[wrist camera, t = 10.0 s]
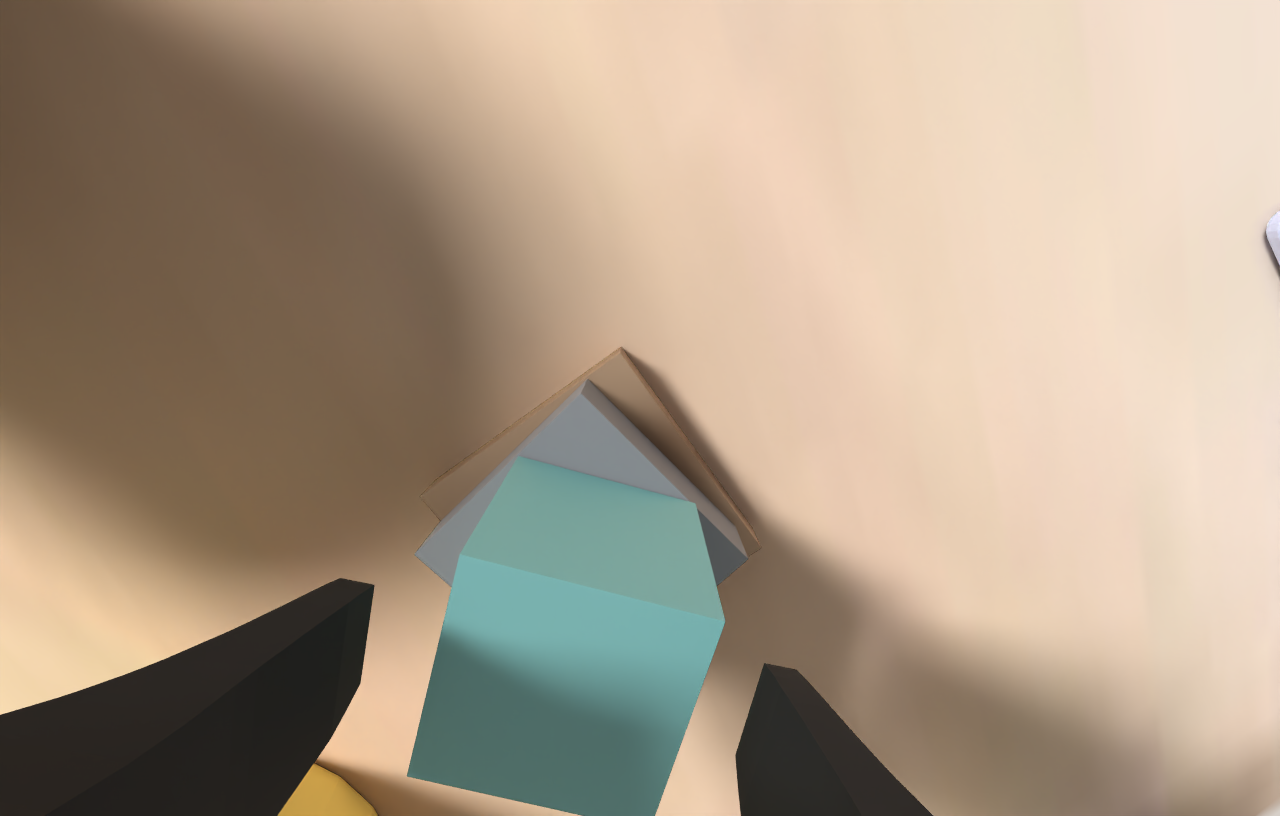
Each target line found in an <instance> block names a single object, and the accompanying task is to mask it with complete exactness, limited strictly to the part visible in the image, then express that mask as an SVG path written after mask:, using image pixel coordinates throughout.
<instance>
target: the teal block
mask: <svg viewBox="0 0 1280 816" xmlns="http://www.w3.org/2000/svg"><path fill="white" fill-rule="evenodd" d="M724 624H725V618H724V614H723V610H722V606H721V602H720V598H719V594H718V590H717V586H716V582H715V578H714V574H713V570H712V566H711V563H710V559H709V555H708V551H707V547H706V543H705V539H704V535H703V531H702V527H701V523H700V519H699V515H698V511H697V507H696V503H692V502H689V501H685V500H681V499H678V498H674V497H670V496H666V495H663V494H659V493H655V492H651V491H648V490H644V489H640V488H636V487H633V486H629V485H625V484H622V483H618V482H614V481H610V480H607V479H603V478H599V477H595V476H592V475H588V474H584V473H580V472H577V471H573V470H569V469H565V468H562V467H558V466H554V465H551V464H547V463H543V462H539V461H536V460H532V459H528V458H524V457H521V456H518V457H517V459H516V461H515V462H514V464H513V466H512V467H511V469H510V471H509V472H508V474H507V476H506V477H505V479H504V481H503V482H502V484H501V486H500V487H499V489H498V491H497V492H496V494H495V496H494V498H493V499H492V501H491V503H490V504H489V506H488V508H487V509H486V511H485V513H484V514H483V516H482V518H481V519H480V521H479V523H478V524H477V526H476V528H475V529H474V531H473V533H472V534H471V536H470V538H469V539H468V541H467V543H466V544H465V546H464V548H463V549H462V551H461V553H460V555H459V559H458V563H457V568H456V572H455V576H454V580H453V584H452V589H451V593H450V597H449V601H448V605H447V610H446V614H445V618H444V622H443V626H442V631H441V635H440V639H439V643H438V647H437V652H436V656H435V660H434V664H433V668H432V673H431V677H430V681H429V685H428V689H427V694H426V698H425V702H424V706H423V710H422V715H421V719H420V723H419V727H418V731H417V736H416V740H415V744H414V748H413V753H412V757H411V761H410V765H409V769H408V774H407V777H412V778H416V779H421V780H425V781H430V782H434V783H439V784H443V785H448V786H452V787H457V788H461V789H466V790H470V791H475V792H479V793H484V794H488V795H493V796H497V797H502V798H506V799H511V800H515V801H520V802H524V803H528V804H533V805H537V806H542V807H546V808H551V809H555V810H560V811H564V812H569V813H573V814H578V815H582V816H655V814H656V811H657V809H658V806H659V803H660V800H661V798H662V795H663V792H664V789H665V787H666V784H667V781H668V778H669V776H670V773H671V770H672V767H673V764H674V762H675V759H676V756H677V753H678V751H679V748H680V745H681V742H682V740H683V737H684V734H685V731H686V729H687V726H688V723H689V720H690V718H691V715H692V712H693V709H694V707H695V704H696V701H697V698H698V696H699V693H700V690H701V687H702V685H703V682H704V679H705V676H706V674H707V671H708V668H709V665H710V663H711V660H712V657H713V654H714V652H715V649H716V646H717V643H718V641H719V638H720V635H721V632H722V630H723V627H724Z"/></svg>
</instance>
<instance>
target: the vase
mask: <svg viewBox="0 0 1280 816" xmlns="http://www.w3.org/2000/svg"><path fill="white" fill-rule="evenodd" d="M278 816H378V815H377V813H376V812H375V810H374V808H373V806H372V805H371V804H369V803H368V802H367V801H366V800H365V799H364V798H363V797H362V796H361V795H360V794H358V793H357V792H356V791H355V790H354V789H353V788H352V787H351V786H350V785H349V784H348V783H346V782H345V781H344V780H343V779H342V778H341V777H340V776H338V775H336V774H334V773H332V772H330V771H328V770H326V769H324V768H322V767H320V766H318V765H316V764H313V765H312V767H311V768H310V770H309V771H308V773H307V774H306V775H305V777H304V778H303V780H302V781H301V783H300V784H299V786H298V787H297V788H296V790H295V791H294V793H293V794H292V796H291V797H290V798H289V800H288V801H287V803H286V804H285V806H284V807H283V809H282V810H281V811H280V813H279V814H278Z"/></svg>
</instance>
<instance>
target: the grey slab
mask: <svg viewBox="0 0 1280 816" xmlns="http://www.w3.org/2000/svg"><path fill="white" fill-rule="evenodd" d="M518 456H521V457H524V458H528V459H532V460H536V461H539V462H543V463H547V464H551V465H554V466H558V467H562V468H565V469H569V470H573V471H577V472H580V473H584V474H588V475H592V476H595V477H599V478H603V479H607V480H610V481H614V482H618V483H622V484H625V485H629V486H633V487H636V488H640V489H644V490H648V491H651V492H655V493H659V494H663V495H666V496H670V497H674V498H678V499H681V500H685V501H689V502H692V503H696V507H697V511H698V515H699V519H700V523H701V527H702V531H703V535H704V539H705V543H706V547H707V551H708V555H709V559H710V563H711V566H712V570H713V574H714V578H715V582H716V586H718V585H719V584H720V583H721V582H722V581H723V580H725V579H726V578H727V577H728V576H729V575H730V574H732V573H733V572H734V571H735V570H736V569H737V568H739V567H740V566H741V565H742V564H743V563H744V562H746V561H747V560H748V557H747V554H746V552H745V549H744V547H743V544H742V541H741V539H740V536H739V534H738V531H737V529H736V526H735V525H734V524H733V523H732V522H731V521H730V520H729V519H728V518H727V517H726V516H725V515H724V514H723V513H722V512H721V511H720V510H719V509H718V508H717V507H716V506H715V505H714V504H713V503H712V502H711V501H710V500H709V499H708V498H707V497H706V496H705V495H704V494H703V493H702V492H701V491H700V490H699V489H698V488H697V487H696V486H695V485H694V484H693V483H692V482H691V481H690V480H689V479H688V478H687V477H686V476H685V475H684V474H683V473H682V472H681V471H680V470H679V469H678V468H677V467H676V466H675V465H674V464H673V463H672V462H671V461H670V460H669V459H668V458H667V457H666V456H665V455H664V454H663V453H662V452H661V451H660V450H659V449H658V448H657V447H656V446H655V445H654V444H653V443H652V442H651V441H650V440H649V439H648V438H647V437H646V436H645V435H644V434H643V433H642V432H641V431H640V430H639V429H638V428H637V427H636V426H635V425H634V424H633V423H632V422H631V421H630V420H629V419H628V418H627V417H626V416H625V415H624V414H623V413H622V412H621V411H620V410H619V409H618V408H617V407H616V406H615V405H614V404H613V403H612V402H611V401H610V400H609V399H608V398H607V397H606V396H605V395H604V394H603V393H602V392H601V391H600V390H599V389H598V388H597V387H596V386H595V385H594V384H593V383H592V382H591V381H590V380H589V379H587V380H586V381H585V382H583V383H582V384H581V385H580V386H579V387H578V388H577V389H576V390H575V391H574V392H573V393H572V394H571V395H570V396H569V397H568V398H567V399H566V400H565V401H564V402H563V403H562V404H561V405H560V406H559V407H558V408H557V409H556V410H555V411H554V412H553V413H552V414H551V415H549V416H548V417H547V418H546V419H545V420H544V421H543V422H542V423H541V424H540V425H539V426H538V427H537V428H536V429H535V430H534V431H533V432H532V433H531V434H530V435H529V436H528V437H527V438H526V439H525V440H524V441H523V442H522V443H521V444H520V445H519V446H518V447H517V448H515V449H514V450H513V451H512V452H511V453H510V454H509V455H508V456H507V457H506V458H505V459H504V460H503V461H502V462H501V463H500V464H499V465H498V466H497V467H496V468H495V469H494V470H493V471H492V472H491V473H490V474H489V475H488V476H487V477H486V478H485V479H484V480H483V481H482V482H480V483H479V484H478V485H477V486H476V487H475V488H474V489H473V490H472V491H471V492H470V493H469V494H468V495H467V496H466V497H465V498H464V499H463V500H462V501H461V502H460V503H459V504H458V505H457V506H456V507H455V508H454V509H453V510H452V511H451V512H450V513H449V514H448V515H446V516H445V517H444V518H443V519H442V520H441V521H440V522H439V524H438V525H437V526H436V527H435V529H434V530H433V531H432V532H431V534H430V535H429V536H428V538H427V539H426V540H425V541H424V543H423V544H422V545H421V546H420V548H419V549H418V550H417V552H416V553H415V554H414V555H415V556H416V557H417V558H419V559H420V560H421V561H422V562H423V563H424V564H425V565H427V566H428V567H429V568H430V569H431V570H432V571H433V572H435V573H436V574H437V575H438V576H439V577H440V578H441V579H443V580H444V581H445V582H446V583H447V584H448V585H449V586H451V587H452V584H453V580H454V576H455V572H456V568H457V563H458V559H459V555H460V553H461V551H462V549H463V548H464V546H465V544H466V543H467V541H468V539H469V538H470V536H471V534H472V533H473V531H474V529H475V528H476V526H477V524H478V523H479V521H480V519H481V518H482V516H483V514H484V513H485V511H486V509H487V508H488V506H489V504H490V503H491V501H492V499H493V498H494V496H495V494H496V492H497V491H498V489H499V487H500V486H501V484H502V482H503V481H504V479H505V477H506V476H507V474H508V472H509V471H510V469H511V467H512V466H513V464H514V462H515V461H516V459H517V457H518Z"/></svg>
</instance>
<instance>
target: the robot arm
mask: <svg viewBox="0 0 1280 816" xmlns="http://www.w3.org/2000/svg"><path fill="white" fill-rule="evenodd" d="M1266 234H1267V239H1268V241H1269V243H1270V245H1271V247H1272V250H1273V252H1274V254H1275V256H1276V258H1277V261H1278V263H1279V265H1280V211H1278V212H1277V213H1276V214H1275V215H1274V216H1273V217H1271V219H1270V221H1269V223H1268V224H1267V229H1266ZM373 592H374V585H372V584H367V583H362V582H357V581H352V580H347V579H342V578H340V579H337V580H335V581H333V582H330V583H328V584H326V585H324V586H322V587H320V588H318V589H316V590H313V591H311V592H309V593H307V594H305V595H303V596H301V597H299V598H297V599H295V600H293V601H291V602H289V603H287V604H285V605H283V606H281V607H279V608H277V609H275V610H273V611H271V612H269V613H266V614H264V615H262V616H260V617H258V618H256V619H254V620H252V621H250V622H248V623H246V624H244V625H241V626H239V627H237V628H235V629H233V630H231V631H229V632H226V633H224V634H222V635H219V636H217V637H215V638H212V639H210V640H208V641H206V642H203V643H201V644H199V645H196V646H194V647H192V648H189V649H187V650H185V651H182V652H180V653H178V654H176V655H173V656H171V657H169V658H166V659H164V660H161V661H159V662H156V663H154V664H151V665H149V666H146V667H144V668H141V669H138V670H136V671H133V672H131V673H128V674H125V675H123V676H120V677H117V678H114V679H111V680H108V681H106V682H103V683H100V684H97V685H94V686H91V687H89V688H86V689H83V690H80V691H77V692H74V693H71V694H68V695H65V696H62V697H59V698H56V699H52V700H49V701H46V702H42V703H39V704H35V705H32V706H29V707H25V708H22V709H19V710H15V711H12V712H9V713H5V714H2V715H0V816H278V814H279V813H280V811H281V810H282V809H283V807H284V806H285V804H286V803H287V801H288V800H289V798H290V797H291V796H292V794H293V793H294V791H295V790H296V788H297V787H298V786H299V784H300V783H301V781H302V780H303V778H304V777H305V775H306V774H307V773H308V771H309V770H310V768H311V767H312V765H313V764H314V762H315V761H316V759H317V758H318V757H319V755H320V754H321V752H322V751H323V749H324V748H325V746H326V745H327V743H328V742H329V740H330V739H331V737H332V735H333V734H334V732H335V730H336V728H337V726H338V725H339V723H340V721H341V719H342V717H343V715H344V714H345V712H346V710H347V708H348V706H349V704H350V702H351V700H352V698H353V696H354V695H355V693H356V691H357V689H358V687H359V685H360V682H361V675H362V669H363V662H364V655H365V648H366V641H367V634H368V627H369V620H370V613H371V606H372V599H373ZM736 768H737V780H738V792H739V801H740V811H741V816H933V815H932V814H931V813H930V812H929V811H928V810H927V809H926V808H925V807H924V806H923V805H922V804H921V803H920V802H919V801H918V800H917V799H916V798H915V797H914V796H913V795H912V794H911V793H910V792H909V791H908V790H907V789H906V788H905V787H904V786H903V785H902V784H901V783H900V782H899V781H898V780H897V779H896V778H895V777H894V776H893V775H892V774H891V773H890V772H889V771H888V770H887V768H886V767H885V766H884V765H883V764H882V763H881V762H880V761H879V760H878V759H877V758H876V757H875V756H874V755H873V754H872V752H871V751H870V750H869V749H868V748H867V747H866V746H865V745H864V744H863V743H862V742H861V740H860V739H859V738H858V737H857V736H856V735H855V734H854V733H853V732H852V730H851V729H850V728H849V727H848V726H847V725H846V724H845V723H844V721H843V720H842V719H841V718H840V717H839V716H838V715H837V714H836V712H835V711H834V710H833V709H832V708H831V707H830V706H829V704H828V703H827V702H826V701H825V700H824V699H823V698H822V697H821V695H820V694H819V693H818V692H817V691H816V690H815V689H814V688H813V687H812V685H811V684H810V683H809V682H808V681H807V680H806V679H805V678H804V677H803V676H802V675H801V674H800V673H799V672H798V671H797V670H795V669H790V668H785V667H780V666H775V665H770V664H765V663H764V666H763V669H762V672H761V676H760V679H759V682H758V685H757V688H756V691H755V695H754V698H753V701H752V704H751V707H750V711H749V714H748V717H747V720H746V723H745V727H744V730H743V733H742V736H741V739H740V742H739V746H738V749H737V752H736Z"/></svg>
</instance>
